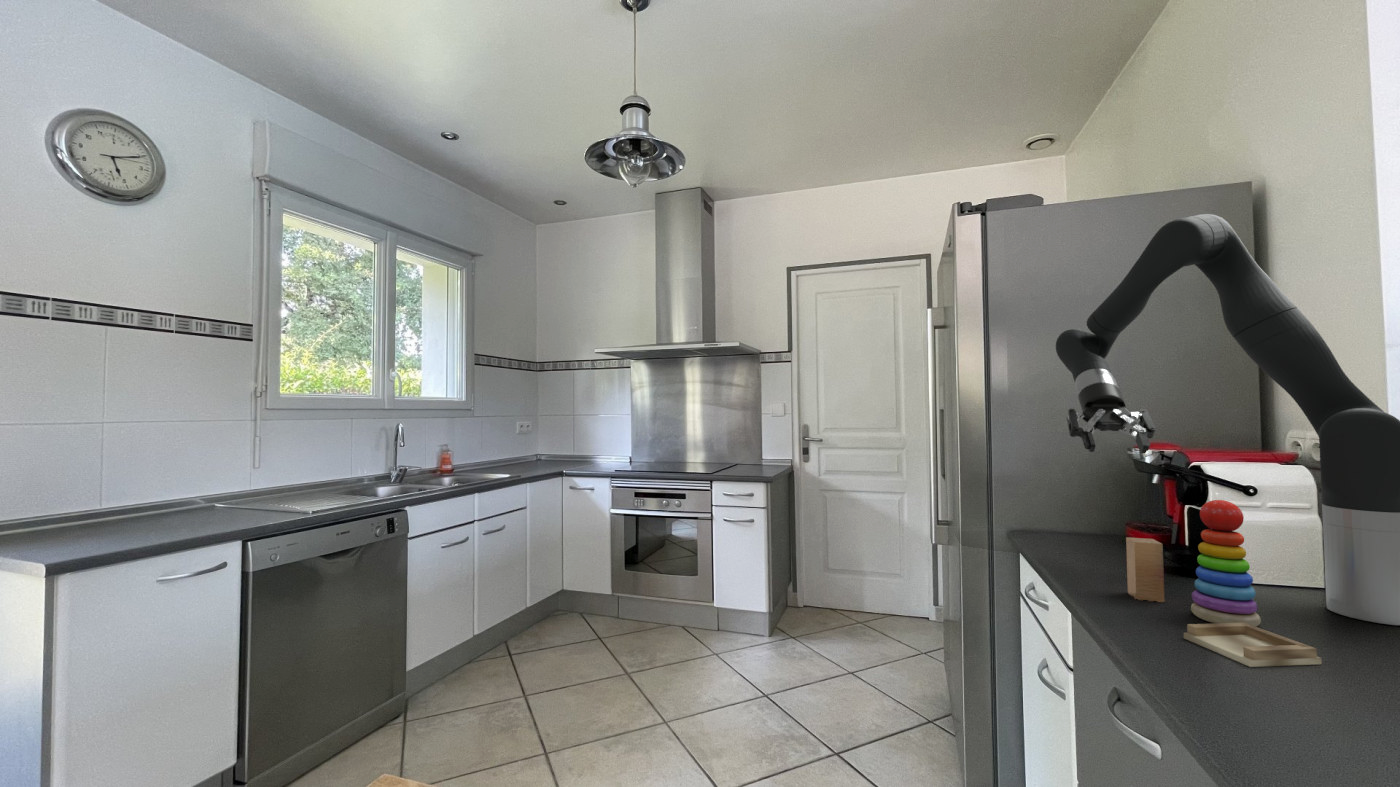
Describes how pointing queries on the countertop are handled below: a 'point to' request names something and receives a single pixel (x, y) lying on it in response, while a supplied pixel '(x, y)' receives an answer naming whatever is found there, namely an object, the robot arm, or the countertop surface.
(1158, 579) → the brown rectangular block
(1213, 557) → the stacking toy
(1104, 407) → the robot arm
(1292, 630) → the countertop surface
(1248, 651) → the wooden tray
